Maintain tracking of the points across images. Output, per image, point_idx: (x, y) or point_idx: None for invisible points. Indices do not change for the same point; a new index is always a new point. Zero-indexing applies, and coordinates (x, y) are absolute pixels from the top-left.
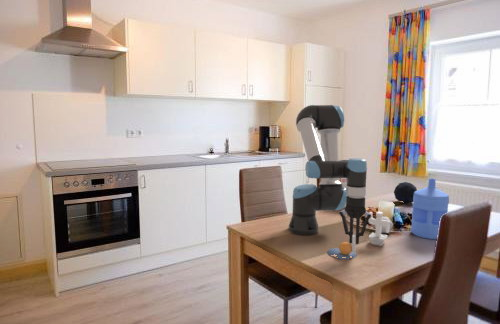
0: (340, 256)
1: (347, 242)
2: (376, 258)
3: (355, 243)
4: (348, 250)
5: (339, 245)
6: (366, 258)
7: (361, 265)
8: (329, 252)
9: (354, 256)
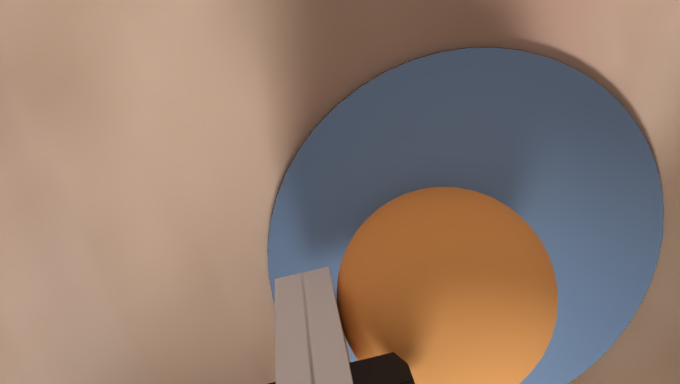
0: (456, 133)
1: (444, 368)
2: (14, 367)
3: (276, 364)
4: (371, 227)
5: (552, 272)
6: (125, 292)
7: (83, 4)
8: (631, 179)
9: (283, 249)
